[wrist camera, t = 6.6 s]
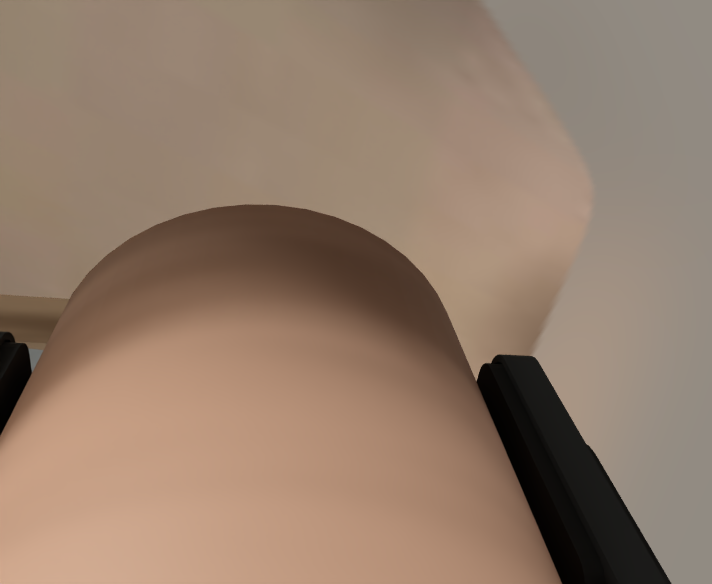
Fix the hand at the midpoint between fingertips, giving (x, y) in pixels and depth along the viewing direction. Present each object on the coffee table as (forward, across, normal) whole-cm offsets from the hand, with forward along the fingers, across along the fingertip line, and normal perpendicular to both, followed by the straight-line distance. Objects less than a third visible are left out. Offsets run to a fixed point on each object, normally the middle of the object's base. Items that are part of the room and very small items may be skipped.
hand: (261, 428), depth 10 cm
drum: (+1, 0, 0) cm, 1 cm away
